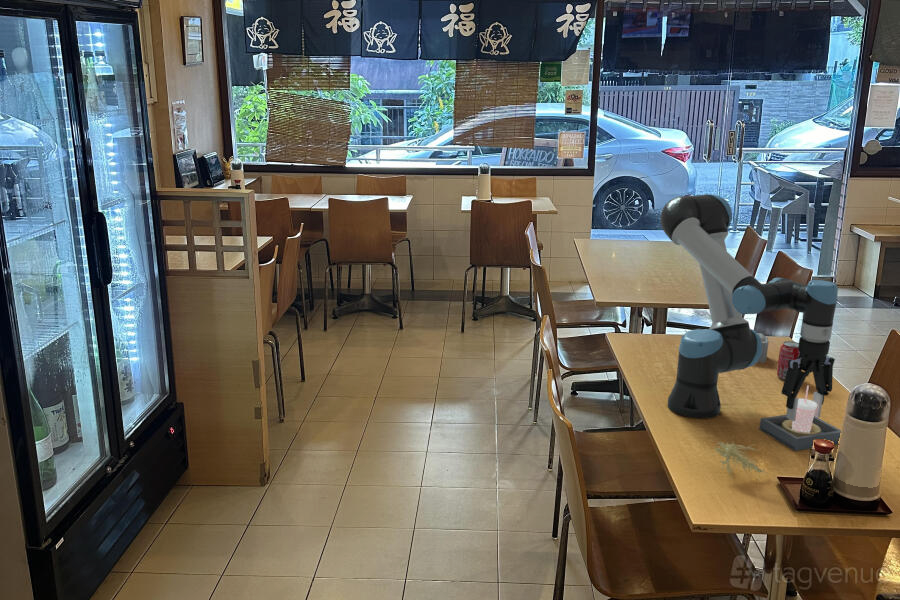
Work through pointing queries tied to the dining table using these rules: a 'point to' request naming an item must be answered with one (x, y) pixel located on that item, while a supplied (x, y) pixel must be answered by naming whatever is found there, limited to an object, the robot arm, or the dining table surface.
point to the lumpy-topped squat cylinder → (763, 347)
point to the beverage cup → (804, 414)
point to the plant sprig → (731, 451)
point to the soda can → (786, 357)
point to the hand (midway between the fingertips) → (802, 417)
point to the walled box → (798, 440)
